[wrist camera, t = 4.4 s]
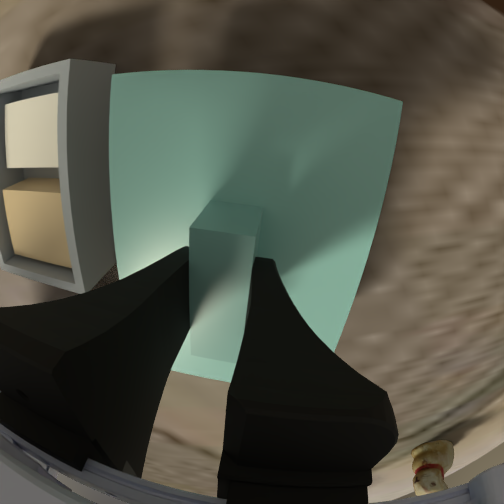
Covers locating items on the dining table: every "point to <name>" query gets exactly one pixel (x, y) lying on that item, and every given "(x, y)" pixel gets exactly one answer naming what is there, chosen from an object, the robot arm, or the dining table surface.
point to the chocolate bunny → (431, 466)
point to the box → (56, 174)
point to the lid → (248, 193)
